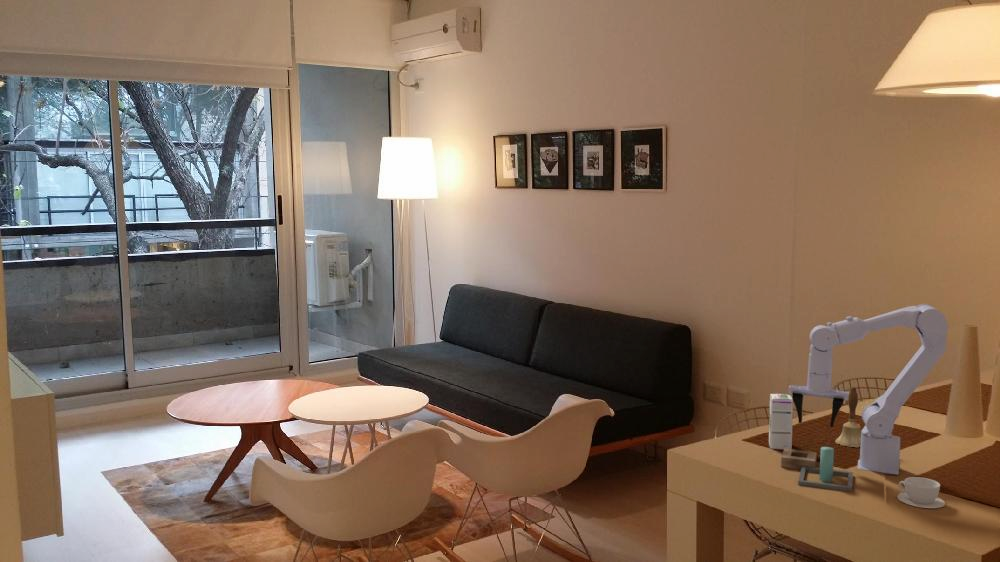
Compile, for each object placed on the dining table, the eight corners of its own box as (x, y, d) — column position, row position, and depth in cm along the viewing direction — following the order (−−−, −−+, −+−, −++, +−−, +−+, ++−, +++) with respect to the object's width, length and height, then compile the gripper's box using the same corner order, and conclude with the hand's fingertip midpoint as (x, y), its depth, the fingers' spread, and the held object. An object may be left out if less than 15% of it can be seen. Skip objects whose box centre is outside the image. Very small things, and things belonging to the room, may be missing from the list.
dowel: (828, 478, 218) (830, 446, 217) (834, 482, 215) (836, 450, 214) (817, 478, 217) (818, 446, 216) (822, 482, 214) (824, 450, 213)
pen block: (816, 463, 230) (816, 452, 230) (814, 472, 223) (814, 461, 222) (783, 459, 233) (784, 448, 233) (781, 468, 226) (781, 457, 225)
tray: (852, 477, 219) (853, 472, 219) (851, 493, 208) (852, 488, 208) (801, 471, 224) (801, 465, 224) (798, 486, 213) (798, 481, 213)
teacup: (950, 501, 204) (952, 482, 204) (937, 513, 197) (938, 493, 196) (905, 491, 211) (906, 472, 210) (890, 502, 204) (891, 482, 203)
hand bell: (829, 443, 247) (832, 387, 246) (844, 437, 253) (847, 382, 251) (858, 450, 241) (861, 392, 239) (872, 444, 247) (875, 388, 245)
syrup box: (792, 451, 240) (794, 399, 238) (769, 450, 241) (771, 398, 239) (789, 445, 245) (792, 394, 243) (767, 444, 246) (769, 392, 245)
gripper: (850, 372, 228) (846, 423, 230) (791, 366, 234) (787, 416, 235) (849, 378, 222) (845, 431, 223) (789, 371, 227) (785, 423, 229)
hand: (815, 424), depth 229 cm, fingers open, 7 cm apart
